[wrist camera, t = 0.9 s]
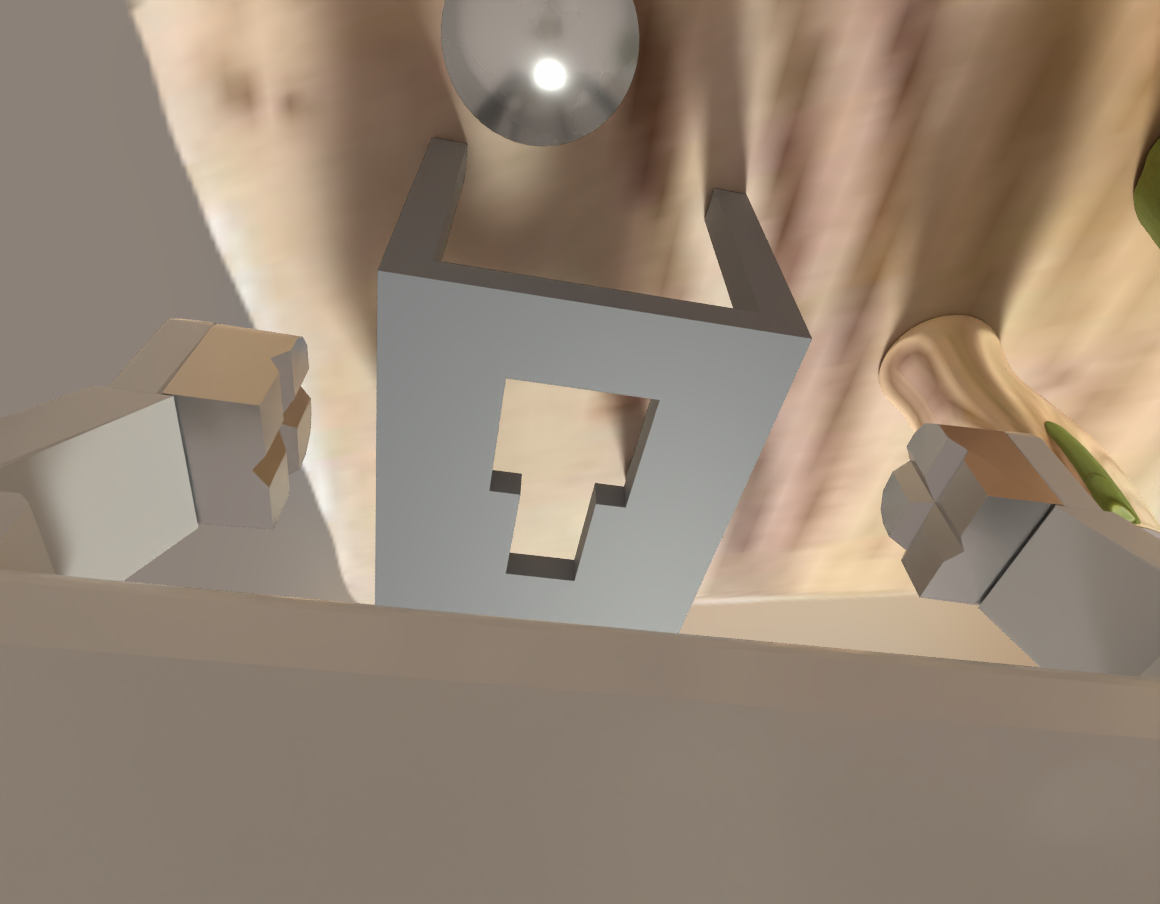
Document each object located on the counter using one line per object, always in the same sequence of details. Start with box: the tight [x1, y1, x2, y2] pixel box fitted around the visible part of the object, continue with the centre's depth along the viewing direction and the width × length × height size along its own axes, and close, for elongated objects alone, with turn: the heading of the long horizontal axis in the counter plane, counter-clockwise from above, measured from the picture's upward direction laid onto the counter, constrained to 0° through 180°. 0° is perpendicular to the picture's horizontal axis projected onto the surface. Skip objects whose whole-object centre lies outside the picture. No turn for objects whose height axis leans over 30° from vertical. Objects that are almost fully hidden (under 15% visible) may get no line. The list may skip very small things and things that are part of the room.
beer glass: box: [879, 315, 1160, 539], centre depth 34 cm, size 7×7×15 cm
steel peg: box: [441, 0, 639, 146], centre depth 26 cm, size 6×6×8 cm
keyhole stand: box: [375, 137, 812, 633], centre depth 34 cm, size 18×14×12 cm
